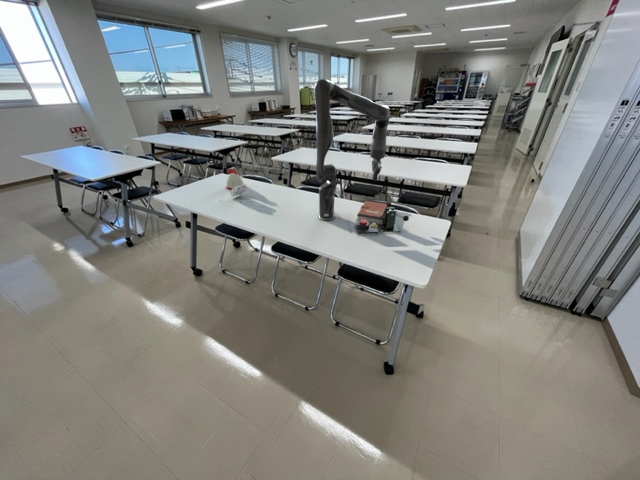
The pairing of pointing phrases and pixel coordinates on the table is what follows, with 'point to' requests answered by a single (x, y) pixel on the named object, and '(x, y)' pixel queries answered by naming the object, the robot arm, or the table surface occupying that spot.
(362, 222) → the button
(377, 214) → the book
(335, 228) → the table surface
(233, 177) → the kitchen timer
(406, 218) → the switch lever
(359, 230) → the emergency stop panel
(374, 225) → the lamp lens
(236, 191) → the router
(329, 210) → the robot arm
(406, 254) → the table surface
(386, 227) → the switch bracket
